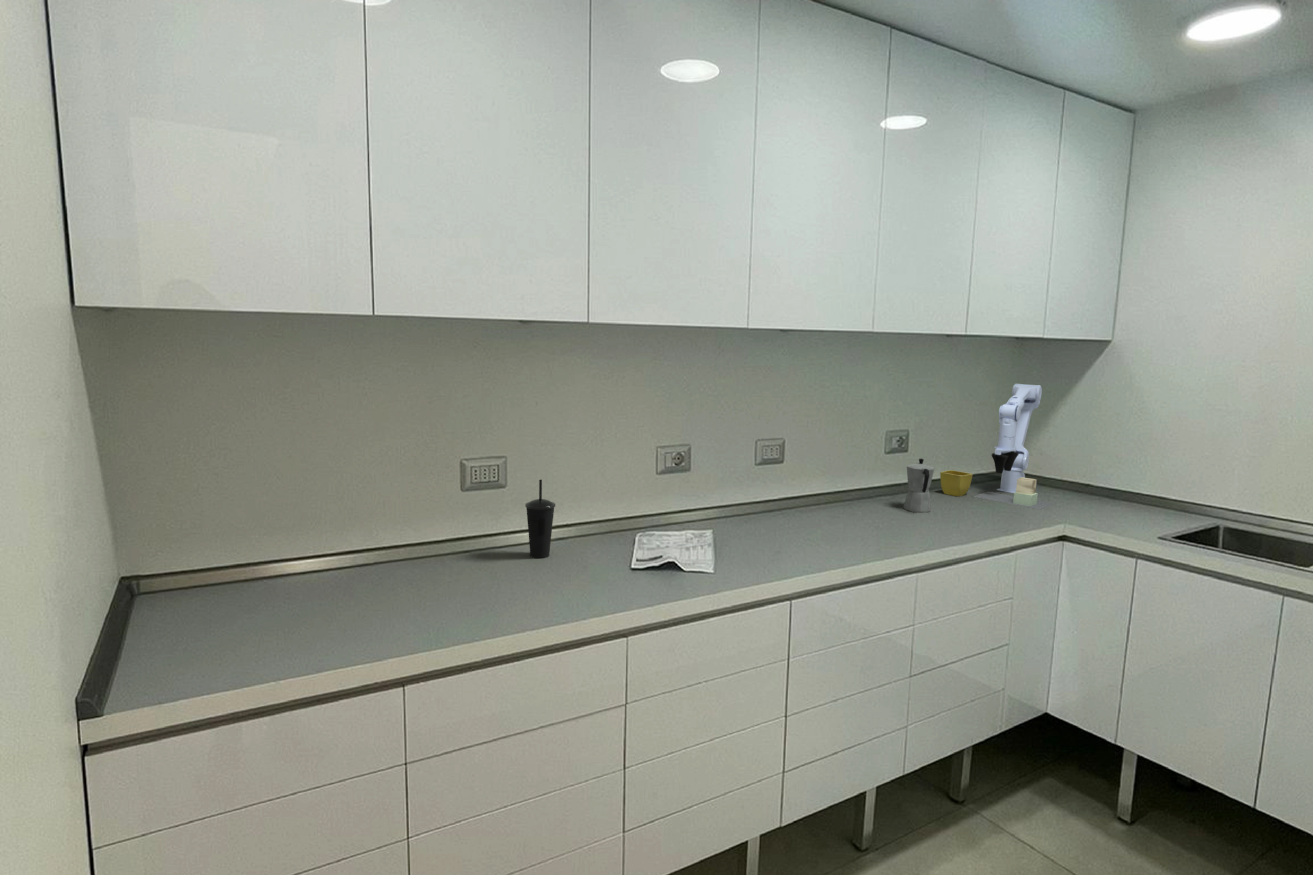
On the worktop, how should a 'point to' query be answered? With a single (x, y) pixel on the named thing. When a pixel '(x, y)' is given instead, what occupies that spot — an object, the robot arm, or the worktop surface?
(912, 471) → the coffeepot
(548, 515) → the drinking cup
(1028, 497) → the sage brick
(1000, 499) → the play mat
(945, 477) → the flower pot
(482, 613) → the worktop surface
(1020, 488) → the birch block
